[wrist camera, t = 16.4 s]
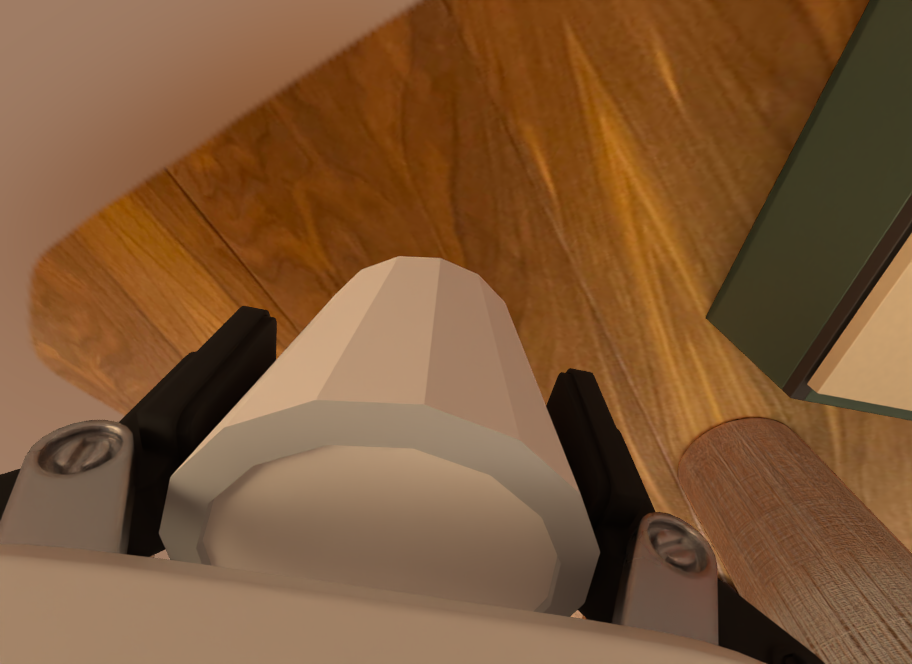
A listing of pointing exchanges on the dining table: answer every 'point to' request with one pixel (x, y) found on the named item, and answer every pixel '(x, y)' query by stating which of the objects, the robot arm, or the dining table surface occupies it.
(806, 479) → the planter
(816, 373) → the slide door
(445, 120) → the dining table surface
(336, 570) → the shot glass
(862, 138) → the cabinet
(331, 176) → the dining table surface
